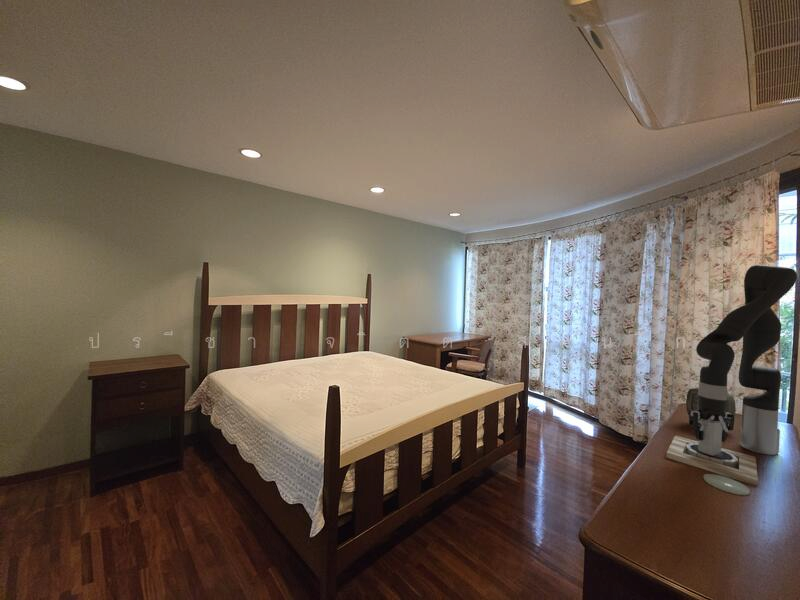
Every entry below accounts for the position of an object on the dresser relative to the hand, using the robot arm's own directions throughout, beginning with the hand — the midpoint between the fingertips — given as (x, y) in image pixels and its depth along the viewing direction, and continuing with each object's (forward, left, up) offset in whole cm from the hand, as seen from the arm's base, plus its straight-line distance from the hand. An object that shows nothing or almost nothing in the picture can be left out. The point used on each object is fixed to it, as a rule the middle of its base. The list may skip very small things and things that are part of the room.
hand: (710, 440), depth 113 cm
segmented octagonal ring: (0, +1, -7) cm, 7 cm away
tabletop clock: (-28, -30, -7) cm, 42 cm away
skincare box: (0, 0, -5) cm, 5 cm away
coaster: (+10, +17, -7) cm, 21 cm away
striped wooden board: (0, +1, -7) cm, 7 cm away
